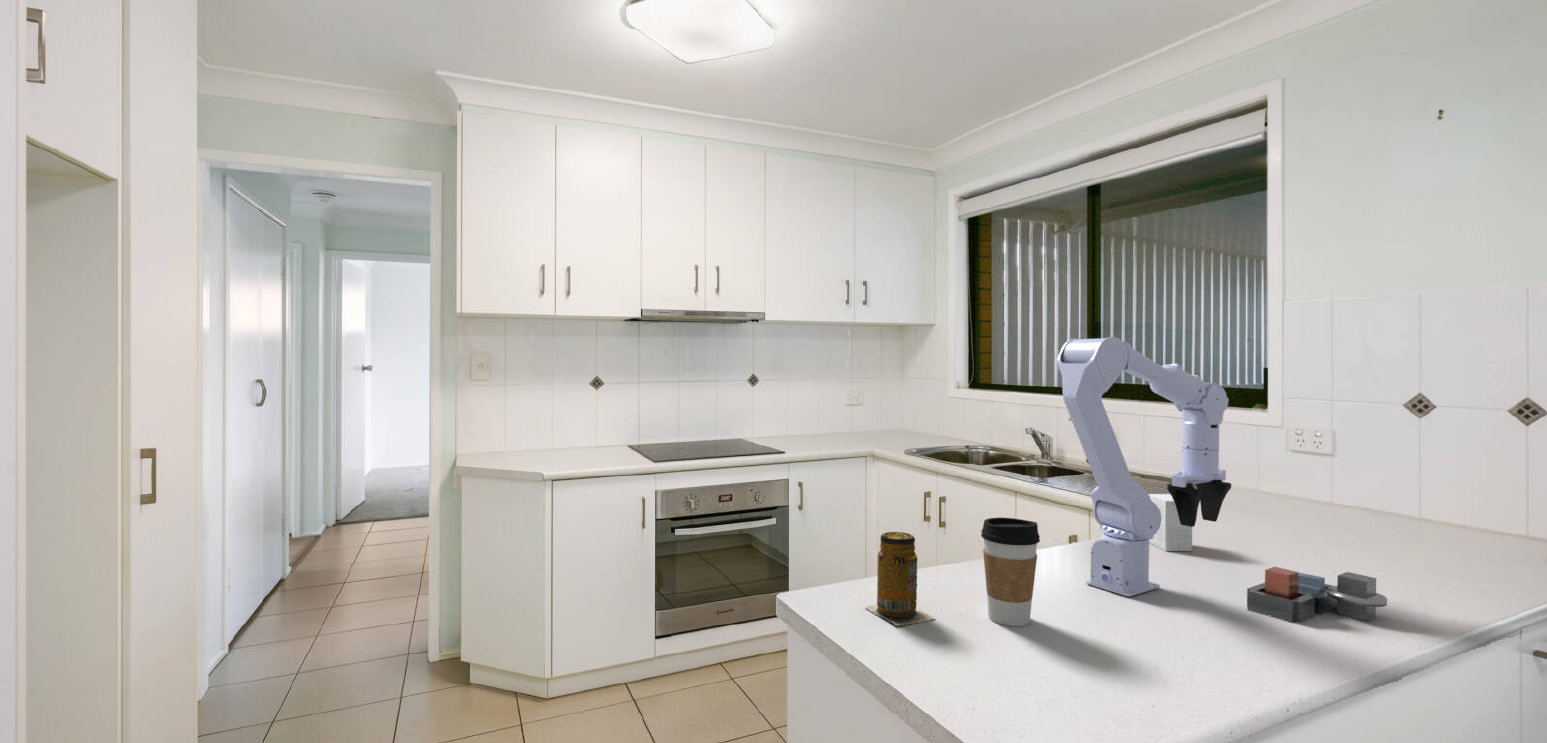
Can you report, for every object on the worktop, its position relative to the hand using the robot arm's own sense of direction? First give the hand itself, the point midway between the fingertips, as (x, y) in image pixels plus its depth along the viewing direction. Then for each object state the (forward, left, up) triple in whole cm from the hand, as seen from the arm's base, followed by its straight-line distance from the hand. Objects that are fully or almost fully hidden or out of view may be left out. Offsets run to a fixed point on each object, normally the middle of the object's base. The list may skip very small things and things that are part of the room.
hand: (1198, 523), depth 122 cm
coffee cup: (-46, +4, -10) cm, 47 cm away
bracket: (+2, -15, -10) cm, 18 cm away
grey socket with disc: (-2, -18, -10) cm, 21 cm away
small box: (+16, +14, -10) cm, 24 cm away
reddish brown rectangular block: (-7, -16, -10) cm, 20 cm away
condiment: (-59, +14, -10) cm, 61 cm away
